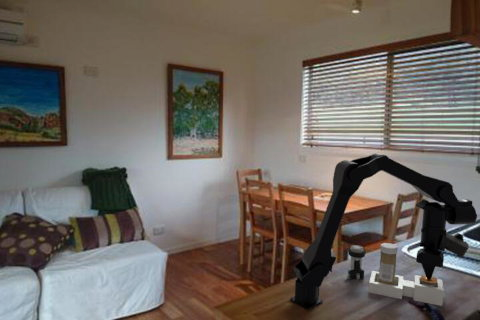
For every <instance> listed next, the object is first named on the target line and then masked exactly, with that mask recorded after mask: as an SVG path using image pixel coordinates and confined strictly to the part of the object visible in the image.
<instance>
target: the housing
mask: <svg viewBox="0 0 480 320" xmlns="http://www.w3.org/2000/svg"><path fill="white" fill-rule="evenodd" d="M421 276H422V275H417V274H414V279H413V280H414V281H413V280H408V279H407V280H406V279H404V276H403V275H398V274H395V282H394V285H389V284H384V283H379V271H377V270H376V271H375V270H371V274H370V278H369V282H368V283H369V284H368V293H369V294H375V295H379V296H385V297H390V298H395V299H400V300H402V299H403V296H404V297H408V298H411V299H412V298H413V301H414V302H415V301H416V302H421V303H426V304H430V305H434V306H435V305H436V306H440V307H443V303H444V291H445V290H444V284H443V280H442V279H440V278H436V279H437V283H436V287H433V286H428V285H423V284H421Z"/></svg>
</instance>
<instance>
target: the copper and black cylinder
mask: <svg viewBox="0 0 480 320" xmlns="http://www.w3.org/2000/svg"><path fill="white" fill-rule="evenodd" d="M420 276H421V284H423V285H428V286H433V287H436V283H437V279H438V278H436V277H435V276H433V275H432V278H431V279H428V278H426V275H425V274H423V275H420Z"/></svg>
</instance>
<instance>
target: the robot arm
mask: <svg viewBox="0 0 480 320" xmlns="http://www.w3.org/2000/svg"><path fill="white" fill-rule="evenodd" d="M379 172H383V173H386V174H388V175H390V176H392V177H394V178H396V179H398V180H400V181H403V183H406V184H409V185H410V186H412V188H414V189H415V190H416V191H417V192H419V194H421V195H422V196H423V197H426V198H427V199H430V200H433V201H429V200H427V199H425V198H423V199H421V200H420V201H419V202H417V203H416V204H415V207H416V208H419V209H421V210H423V211H422V220H421V222H422V223H421V229H420V232H421V234H420V242H419V247H420V248H419V249H418V250H417V253H416V261H415V262H416V263H418V264H420V265H421V266H422V269H423V272H424V275H426V278H428V279H431V278H432V276H433V274H434V272H435V269H436V267H437V268H444V259H445V258H444V257H445V255H444V252H445V251H446V250H447V251H449V252H451V253H453V254H454V255H456V256H457V257H459V258H461V259H462V258H464V256H465V255H466V253H467V251H468V249H469V247H470V246H469V243H468V242H467V241H464V234H461V233H459V232H457V233H455V234H449V233H447V230H448V229H447V228H446V224H447V223H448V224H449V225H455V226H456V225H473V224H475V222H476V221H477V218H478V214H477V211H476V209H475V207H474V205H473V200H470V199H466V198H465V199H464V198H463V199H458V197H457V195H456V194H455V192H454V186H453V185H452V184H451V183H450V182H448V181H445V180H442V179H438V178H435V177H431V176H429V175H425V174H422V173H420V172H418V171H416V170H414V169H412V168H410V167H408V166H406V165H404V164H401V163H399V162H397V161H395V160H394V159H392V158H390V157H388V155H386V154H382V153H378V152H377V153H372V154H370V155H368V156H365V157H359V158H355V159H352V160H348V159H345V160H341V161H339V162H338V163H336V165H335V167H334V172H333V178H332V193H331V195H330V199H329V201H328V204H327V207H326V210H325V212H324V214H323V217H322V220H321V222H320V225H319V227H318V231H317V233H316V236H315V239H314V240H313V241H312V242H311V243H310V244H309V245H308V246H307V248H306V249H305V251H304V253H303V255H302V256H301V259H300V260H299V261H298V262H297V263H296V264H295V265H294V266H293V270H294V273H295V274H296V276H297V277H296V280H295V283H294V284H295V286H294V287H295V288H294V296H292V297H290V299H289V301H292V302H293V303H295V304H297V305H299V306H300V307H303V308H304V309H306V310H310V309H312V308H314V307H317V306H318V305H320V304H322V303H324V300H323V299H322V298H320V287H321V286H322V284H323V281H324V280H325V278H326V277H327V276H328V274H329V273H332V272H333V265H334V264H335V262H336V260H337V257H336V255H334V253H333V252H332V247H333V245H334V241H335V239H336V237H337V234H338V230H339V228H340V225H341V223H342V220H343V218H344V214H345V212H346V209H347V206H348V205H349V201H350V199H351V198H352V196H353V195H355V193H357V191H358V190H359V189H360V187H361V186H362V183H363V182H364V180H365V179H369V178H371V177H373V176H375V175H376V174H377V173H379ZM421 247H422V248H421Z"/></svg>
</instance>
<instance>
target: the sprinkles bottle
mask: <svg viewBox="0 0 480 320" xmlns="http://www.w3.org/2000/svg"><path fill="white" fill-rule="evenodd" d="M379 248H380V250H379V251H380V259H379V268H378V269H379V271H378V272H379V283H384V284H389V285H394V282H395V275H396V267H397V254H398V246H397V245H396V244H394V243H389V242H384V243H381V244H380V247H379Z"/></svg>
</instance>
